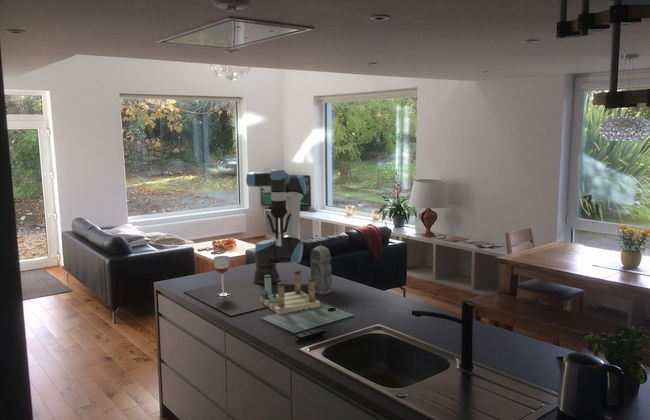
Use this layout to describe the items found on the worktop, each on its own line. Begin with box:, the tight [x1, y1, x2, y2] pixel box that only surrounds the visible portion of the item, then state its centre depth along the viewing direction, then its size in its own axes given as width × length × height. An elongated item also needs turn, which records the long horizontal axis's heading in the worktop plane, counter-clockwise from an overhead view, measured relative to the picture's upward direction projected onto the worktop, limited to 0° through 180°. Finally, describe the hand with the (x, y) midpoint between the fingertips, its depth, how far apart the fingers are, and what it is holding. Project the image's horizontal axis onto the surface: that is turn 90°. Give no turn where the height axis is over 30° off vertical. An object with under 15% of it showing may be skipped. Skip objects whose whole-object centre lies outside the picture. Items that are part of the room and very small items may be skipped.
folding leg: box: [264, 275, 278, 303], centre depth 268 cm, size 12×4×11 cm, turn 29°
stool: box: [260, 270, 321, 315], centre depth 268 cm, size 22×22×14 cm
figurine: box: [309, 244, 333, 295], centre depth 289 cm, size 10×14×25 cm
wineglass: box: [213, 255, 230, 297], centre depth 285 cm, size 8×9×20 cm
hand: (279, 245), depth 280 cm, fingers closed
